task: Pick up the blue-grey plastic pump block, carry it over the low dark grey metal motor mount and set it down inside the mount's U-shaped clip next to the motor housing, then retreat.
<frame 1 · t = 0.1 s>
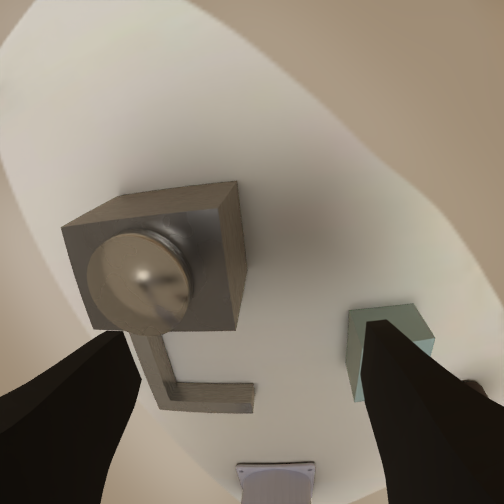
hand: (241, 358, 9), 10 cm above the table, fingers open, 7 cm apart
motor mount: (204, 345, 21), on the table
pump: (378, 333, 20), on the table
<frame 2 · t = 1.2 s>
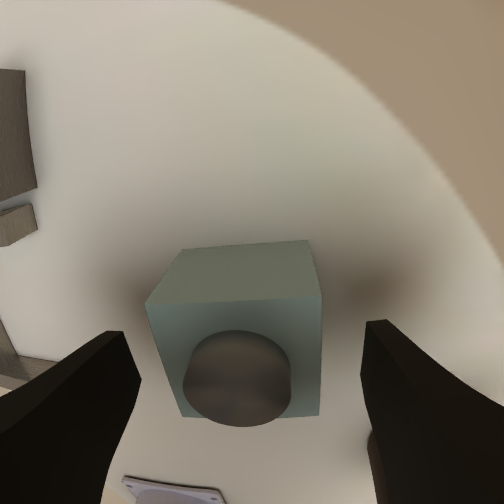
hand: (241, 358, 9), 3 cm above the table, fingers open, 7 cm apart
motor mount: (22, 304, 13), on the table
pump: (250, 299, 12), on the table
bottle: (418, 426, 15), on the table
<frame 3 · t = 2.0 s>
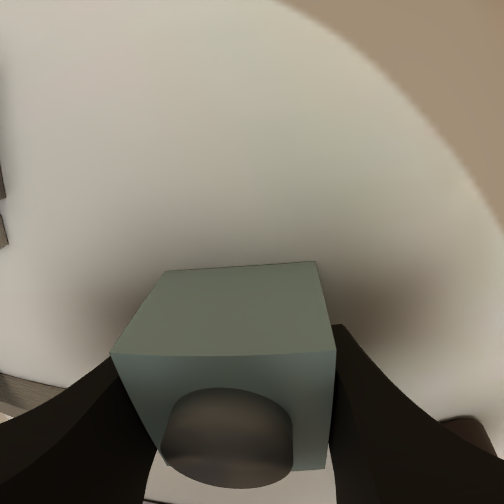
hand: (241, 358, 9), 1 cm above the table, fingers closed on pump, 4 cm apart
motor mount: (0, 322, 11), on the table
pump: (246, 329, 10), on the table, touching gripper
bottle: (428, 450, 13), on the table
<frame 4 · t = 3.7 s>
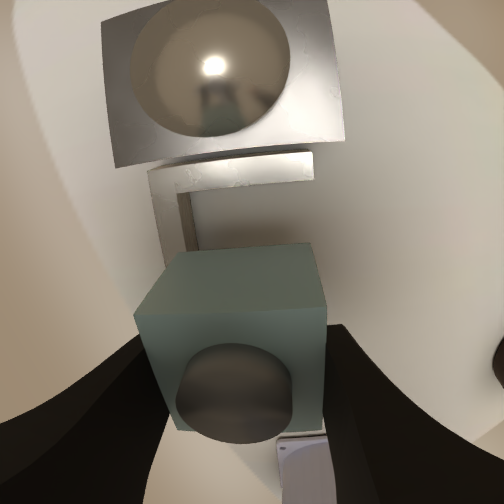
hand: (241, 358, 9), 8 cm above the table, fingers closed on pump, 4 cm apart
motor mount: (255, 250, 17), on the table
pump: (249, 305, 12), point 6 cm above the table, touching gripper
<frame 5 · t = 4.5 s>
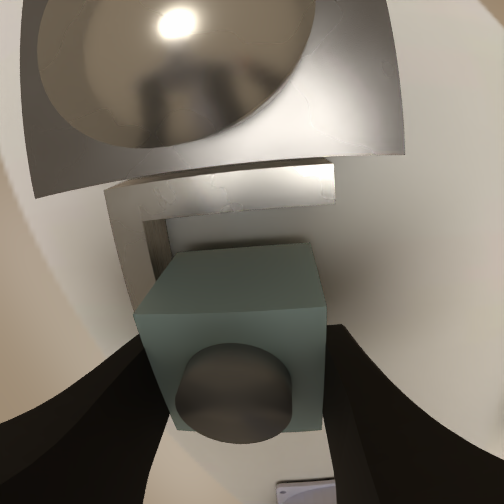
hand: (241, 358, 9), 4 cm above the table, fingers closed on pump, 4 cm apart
motor mount: (252, 290, 13), on the table
pump: (249, 305, 12), point 1 cm above the table, touching gripper
when the fingers open (3 cm above the table, at t = 5.2 s): pump stays where it is, on the table.
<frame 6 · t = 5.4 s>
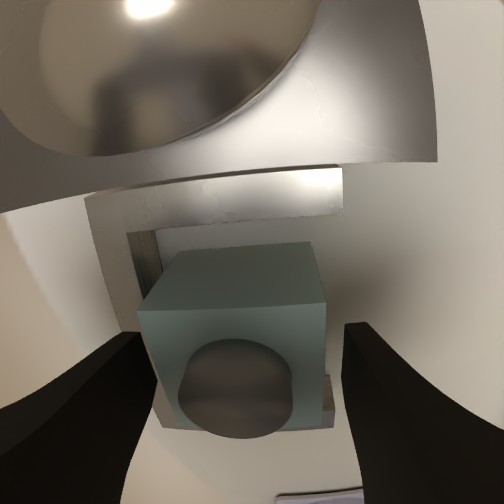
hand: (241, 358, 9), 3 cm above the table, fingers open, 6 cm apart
motor mount: (249, 306, 12), on the table
pump: (250, 303, 12), on the table
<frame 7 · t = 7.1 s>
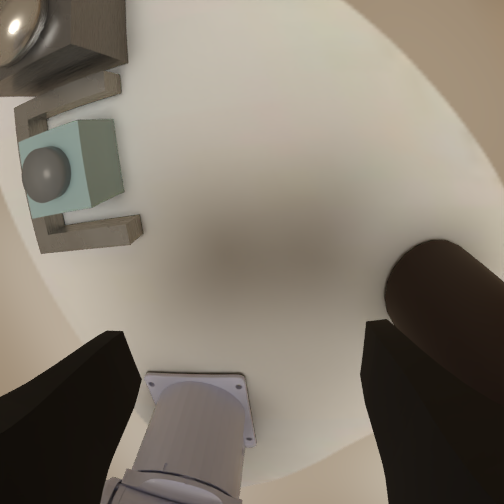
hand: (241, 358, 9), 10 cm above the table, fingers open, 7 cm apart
motor mount: (88, 163, 17), on the table
pump: (89, 162, 18), on the table
bottle: (427, 284, 19), on the table
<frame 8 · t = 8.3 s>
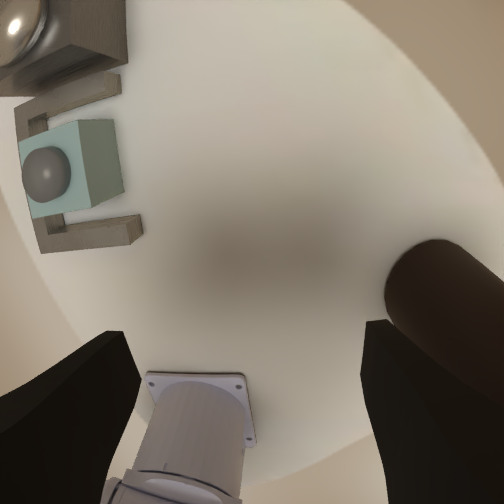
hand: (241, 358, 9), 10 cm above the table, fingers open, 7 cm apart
motor mount: (88, 163, 17), on the table
pump: (89, 162, 18), on the table
bottle: (427, 284, 19), on the table
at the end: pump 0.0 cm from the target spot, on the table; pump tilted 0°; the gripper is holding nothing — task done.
